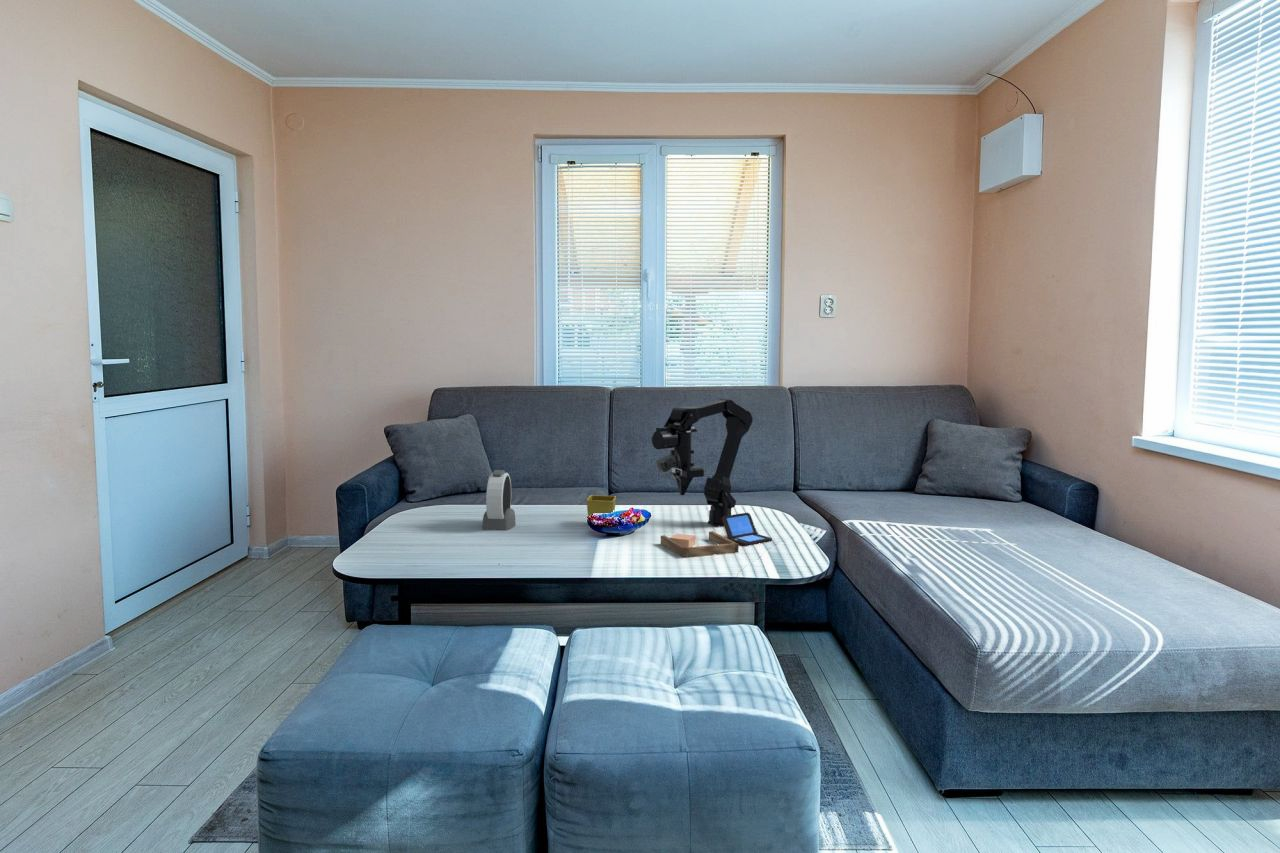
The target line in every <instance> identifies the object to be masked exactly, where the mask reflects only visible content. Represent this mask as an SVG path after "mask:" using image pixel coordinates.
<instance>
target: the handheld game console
mask: <svg viewBox="0 0 1280 853" xmlns="http://www.w3.org/2000/svg"><path fill="white" fill-rule="evenodd" d="M722 522H723V525H724V526H723V527H724V529H725V530H724V531H725V534H726V536H727V539H729V540H732V541H734V542H736V543H738V544H739V546H741V545H742V547H749V545H750V546H754V544H755V545H759V543H760V544H765V543H769V541H770V542H772V541H773V537H769V536H766V535H763V534H759V533H758V531H757V528H756V527H755V526H756V525H755V524H754V520H753V518H752V516H751V514H750V512H743V513H737V514H731V515H729V516H723V517H722ZM764 542H765V543H764Z"/></svg>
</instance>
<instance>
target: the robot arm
mask: <svg viewBox="0 0 1280 853" xmlns="http://www.w3.org/2000/svg"><path fill="white" fill-rule="evenodd" d="M717 414H721V415H722V417H723V418H724V419H725V420H726V421H725V428H726V437H725V440H724V444H723V447H722V450H721V453H720V458H719V460H718V463H717V466H716V469H715V473H714V475H713V476H712V477H707V478H706V480H705V485H704V487H703V489H704V492H703V496H704V497H705V499H706V504H707V505H710V510H709V511H708V513H709V514H708V521H707V523H708V524H711V525H713V526H715V527H724V525H723V522H722V517H723V516H729V515H732V508H735V506H736V504H737V500H736V499H735V498H734V496H732V494H731V492H732V491H731V490H732V486H731V484H732V483H731V480H730V479H731V478H730V477H731V475H732V471H733V468H734V463H735V461H736V457H737V454H738V451H739V448H740V447H739V446H740V444H741V441H742V438H743V437H744V436H745V435H746V434H747V433H748V432H749V430H750V428H751V426H752V424H753V420H754V419H753V417H754V416H752V413H751V412H750V411H749V410H746V409H745V408H743V407H742V406H740V405H739V404H737V403H736V402H734V401H733V399H730V398H719V399H716V400H712V401H709V402H705V403H701V404H698V405H694V406H675V407H673V408H672V410H671V412H670V415H669V417H668V418H667V420H666V422H665V423H664V426H663V427H662V426H661V427H657V426H656V427H655V431H654V432H653V434H652V437H651V442H652V443H651V444H652V446H653V447H654V449H655V450H665V449H670V451H669V452H670V453H669V454H668V455H666V456H663V457H661V458H659V459H656V461H655V462H656V465H657V469H658V471H660V472H661V471H662V472H663V473H666V472H669V470H671V472H669V474H670V475H671V476H672V477H673V478H675V482H676V485H677V489H678V492H679V495H680V496H685V494H686V492H687V490H688V488H689V486H690V484H691V482H692V481H693V479H694V478H703V477H705V469H704V468H703V467H701V466H698V465H695V462H692V454H695V450H694V449H692V433H697V432H698V429H696V427H694V426H693V425H694V424H697V423H698V422H699V421H700V420H701V419H703V418H707V417H710V416H713V415H717Z"/></svg>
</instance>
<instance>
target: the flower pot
mask: <svg viewBox="0 0 1280 853" xmlns="http://www.w3.org/2000/svg"><path fill="white" fill-rule="evenodd" d="M616 503H617V496H616V495H615V496H614V495H601V494H600V495H599V494H597V495H596V494H590V495H589V497H587V499H586V510H587V517H588V518H589V516H590V515H591V514H593V513H611V512H613V510H614V511H615V509H616Z"/></svg>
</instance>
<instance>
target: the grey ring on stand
mask: <svg viewBox="0 0 1280 853" xmlns="http://www.w3.org/2000/svg"><path fill="white" fill-rule="evenodd" d="M486 485H487V486H486V494H485V495H486V496H485V498H486V501H485V506H486V507H485V508H486V511H485V512H484V513H483V516H482V530H484V531H509V530H512V529H513V528H515V527H516V514H515V513H516V512H515V510H514V509H513V508H511V505H512V504H511V503H512V481H511V477H510V474H509V473H508V472H506V470H504V469H494V470H493V471H492V472H491V474H489V476H488V481H487V484H486Z"/></svg>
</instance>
